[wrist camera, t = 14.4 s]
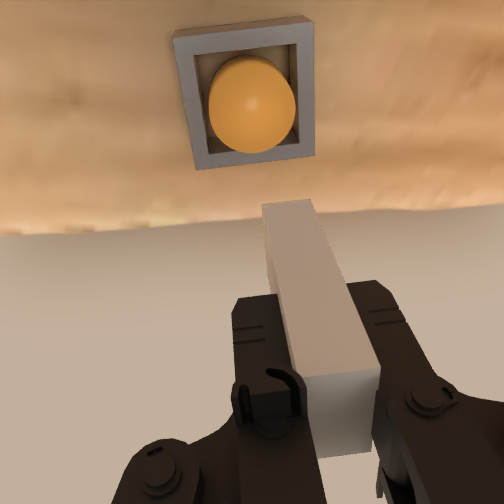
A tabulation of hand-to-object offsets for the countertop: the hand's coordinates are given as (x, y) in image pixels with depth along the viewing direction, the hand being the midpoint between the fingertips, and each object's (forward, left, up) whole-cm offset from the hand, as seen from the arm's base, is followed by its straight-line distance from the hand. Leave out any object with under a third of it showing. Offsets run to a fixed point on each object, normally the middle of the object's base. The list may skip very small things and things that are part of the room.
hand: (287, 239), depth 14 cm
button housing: (0, 0, -19) cm, 19 cm away
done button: (0, 0, -17) cm, 17 cm away
